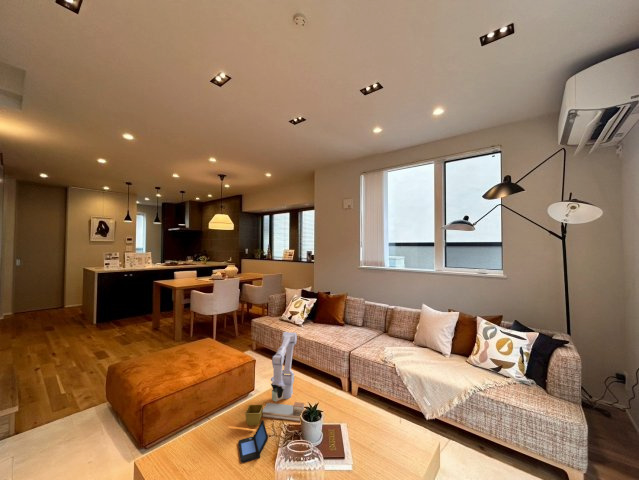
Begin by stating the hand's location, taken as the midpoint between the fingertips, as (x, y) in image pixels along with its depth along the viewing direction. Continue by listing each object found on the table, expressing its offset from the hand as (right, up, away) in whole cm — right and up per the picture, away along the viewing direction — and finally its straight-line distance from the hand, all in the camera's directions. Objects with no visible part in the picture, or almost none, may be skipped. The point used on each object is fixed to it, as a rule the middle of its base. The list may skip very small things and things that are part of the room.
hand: (277, 395), depth 170 cm
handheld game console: (-8, -9, -32) cm, 34 cm away
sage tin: (0, -2, 0) cm, 2 cm away
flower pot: (-12, -10, -13) cm, 20 cm away
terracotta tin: (+14, -9, -5) cm, 17 cm away
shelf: (+5, -10, -2) cm, 11 cm away
